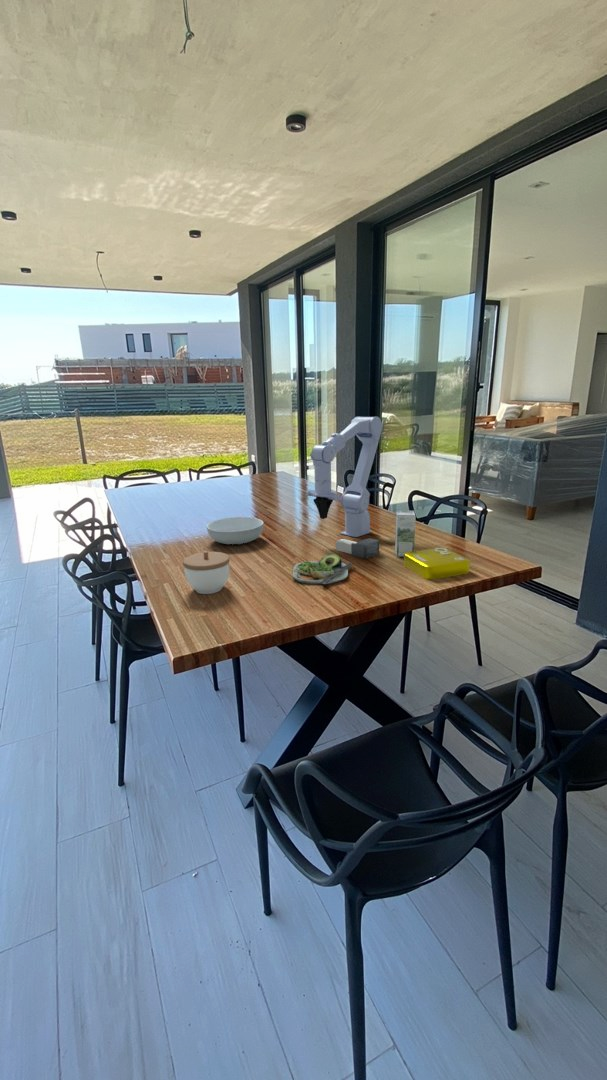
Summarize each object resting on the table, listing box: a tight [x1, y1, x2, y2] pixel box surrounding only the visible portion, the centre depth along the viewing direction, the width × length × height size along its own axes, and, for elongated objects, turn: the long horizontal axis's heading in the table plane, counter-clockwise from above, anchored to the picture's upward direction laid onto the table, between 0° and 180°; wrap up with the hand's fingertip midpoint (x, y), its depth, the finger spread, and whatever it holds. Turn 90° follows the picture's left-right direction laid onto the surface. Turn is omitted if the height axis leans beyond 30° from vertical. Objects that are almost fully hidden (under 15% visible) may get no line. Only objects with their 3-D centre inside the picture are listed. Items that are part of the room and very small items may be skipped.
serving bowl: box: [206, 516, 264, 546], centre depth 182 cm, size 21×21×7 cm
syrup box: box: [394, 510, 417, 558], centre depth 160 cm, size 6×6×14 cm
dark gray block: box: [350, 537, 380, 560], centre depth 163 cm, size 7×6×5 cm
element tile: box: [403, 547, 471, 580], centre depth 148 cm, size 15×15×5 cm
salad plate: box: [292, 554, 353, 585], centre depth 145 cm, size 19×18×5 cm
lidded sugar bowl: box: [182, 550, 230, 595], centre depth 136 cm, size 13×13×11 cm
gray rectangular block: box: [335, 538, 357, 555], centre depth 166 cm, size 4×12×4 cm, turn 45°
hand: (323, 518), depth 174 cm, fingers closed
